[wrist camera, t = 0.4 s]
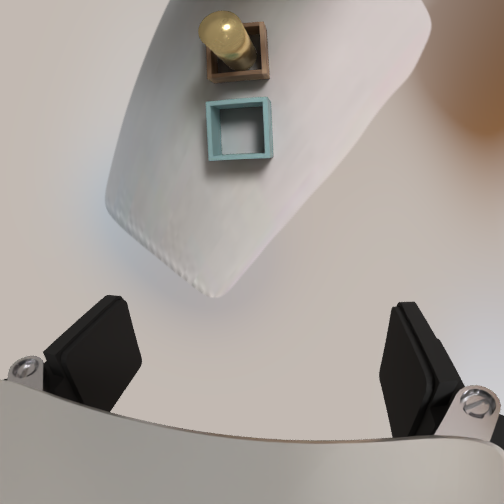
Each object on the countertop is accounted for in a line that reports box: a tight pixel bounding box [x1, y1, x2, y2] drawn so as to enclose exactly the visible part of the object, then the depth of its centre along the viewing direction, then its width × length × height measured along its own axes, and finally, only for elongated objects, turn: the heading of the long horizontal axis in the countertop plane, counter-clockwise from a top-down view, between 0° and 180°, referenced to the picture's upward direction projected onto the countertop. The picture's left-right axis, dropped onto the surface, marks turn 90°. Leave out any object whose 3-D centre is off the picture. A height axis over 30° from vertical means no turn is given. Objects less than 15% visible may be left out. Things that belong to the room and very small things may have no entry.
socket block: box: [206, 22, 270, 83], centre depth 31 cm, size 7×7×3 cm
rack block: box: [206, 97, 273, 161], centre depth 33 cm, size 7×7×4 cm
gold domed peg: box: [198, 11, 257, 71], centre depth 27 cm, size 4×4×10 cm
